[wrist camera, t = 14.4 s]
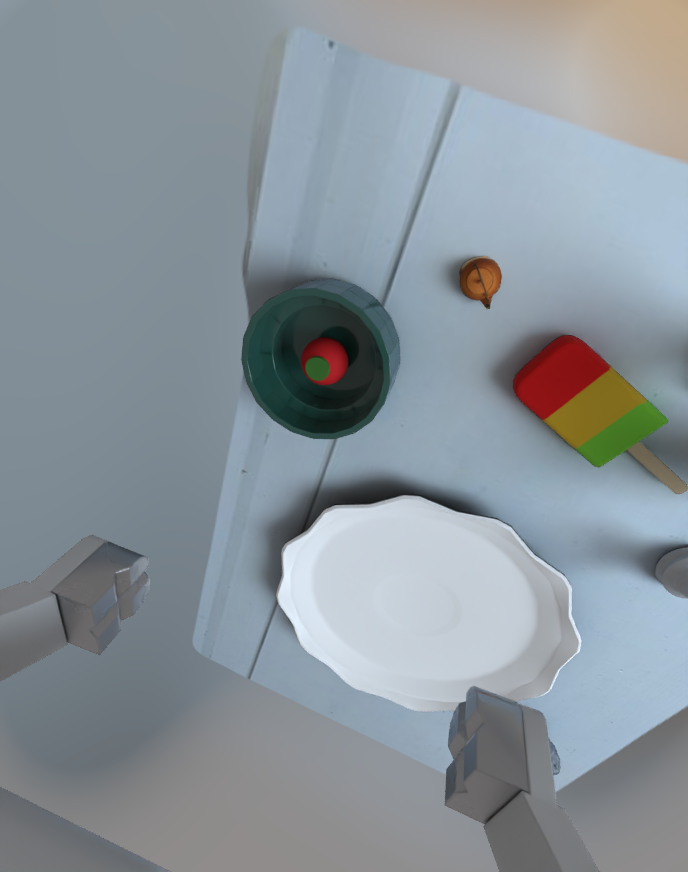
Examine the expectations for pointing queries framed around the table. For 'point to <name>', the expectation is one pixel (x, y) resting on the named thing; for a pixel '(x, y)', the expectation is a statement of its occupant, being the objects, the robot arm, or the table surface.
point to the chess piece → (674, 572)
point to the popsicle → (591, 406)
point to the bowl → (293, 330)
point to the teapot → (480, 279)
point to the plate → (427, 603)
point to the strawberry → (324, 361)
